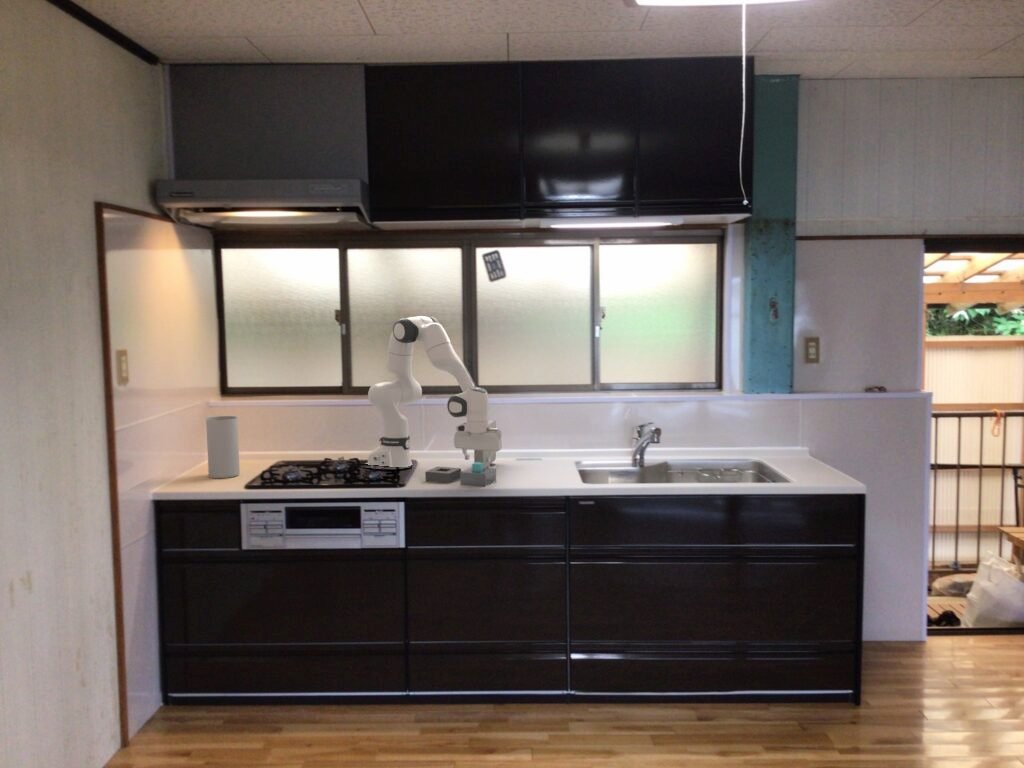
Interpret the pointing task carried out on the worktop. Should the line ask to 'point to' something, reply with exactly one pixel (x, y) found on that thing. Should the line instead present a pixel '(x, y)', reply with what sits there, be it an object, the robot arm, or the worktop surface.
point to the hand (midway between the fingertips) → (477, 460)
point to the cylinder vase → (223, 446)
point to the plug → (478, 467)
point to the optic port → (478, 477)
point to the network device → (486, 453)
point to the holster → (443, 474)
